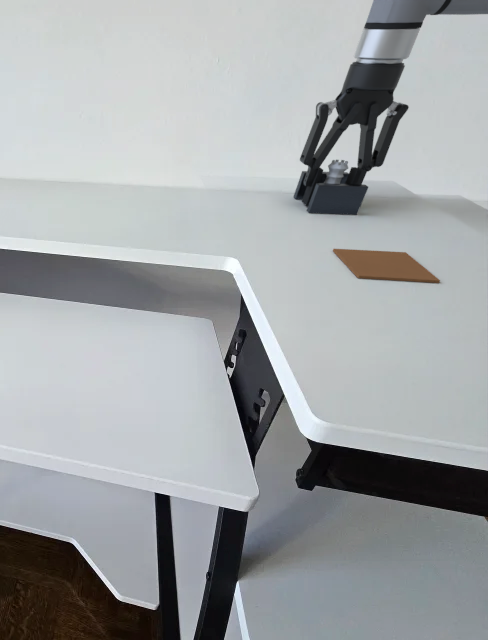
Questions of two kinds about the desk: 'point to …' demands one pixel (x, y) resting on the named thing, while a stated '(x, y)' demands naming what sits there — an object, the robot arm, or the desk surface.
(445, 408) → the desk surface
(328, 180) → the rook chess piece
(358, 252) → the mat
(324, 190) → the stand
